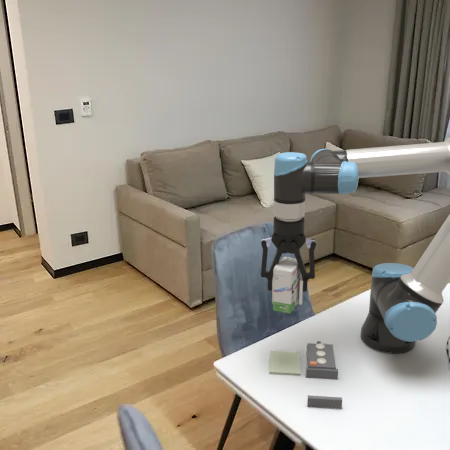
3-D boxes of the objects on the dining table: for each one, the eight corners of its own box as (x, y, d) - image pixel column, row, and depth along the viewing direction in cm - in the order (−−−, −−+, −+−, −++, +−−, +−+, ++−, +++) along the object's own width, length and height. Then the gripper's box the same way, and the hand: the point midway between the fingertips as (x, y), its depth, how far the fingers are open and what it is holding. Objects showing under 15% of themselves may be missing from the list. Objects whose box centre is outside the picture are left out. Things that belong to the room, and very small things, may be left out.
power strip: (332, 344, 148) (333, 333, 147) (341, 409, 122) (342, 395, 121) (304, 343, 149) (304, 332, 148) (307, 406, 123) (308, 393, 122)
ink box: (290, 314, 129) (291, 271, 125) (272, 310, 131) (272, 267, 127) (301, 299, 136) (302, 258, 132) (283, 296, 138) (284, 255, 134)
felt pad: (299, 354, 144) (299, 352, 144) (300, 375, 134) (300, 373, 134) (270, 352, 145) (270, 350, 145) (269, 373, 135) (269, 371, 135)
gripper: (327, 212, 128) (323, 296, 136) (250, 211, 130) (250, 293, 138) (330, 222, 121) (325, 310, 129) (248, 220, 123) (248, 307, 131)
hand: (287, 301), depth 133 cm, fingers closed on ink box, 6 cm apart
